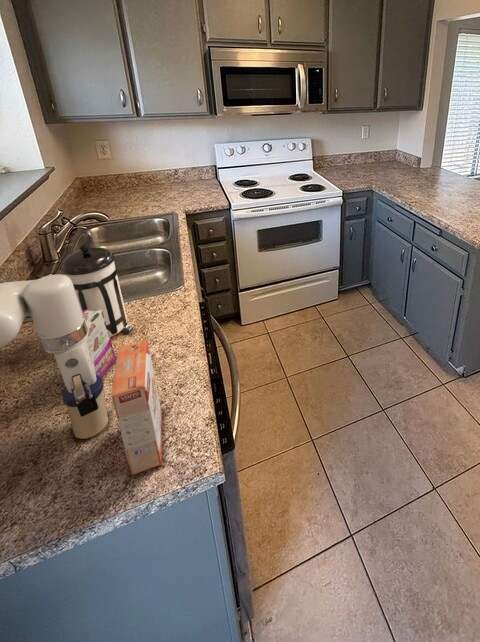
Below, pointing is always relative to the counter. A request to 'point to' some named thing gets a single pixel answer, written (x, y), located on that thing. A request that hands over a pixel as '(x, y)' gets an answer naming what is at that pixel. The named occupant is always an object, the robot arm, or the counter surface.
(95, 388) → the jar lid
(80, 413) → the robot arm
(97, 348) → the candy bar box
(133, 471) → the cracker box
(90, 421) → the jar
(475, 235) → the counter surface
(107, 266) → the coffee press
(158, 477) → the counter surface
